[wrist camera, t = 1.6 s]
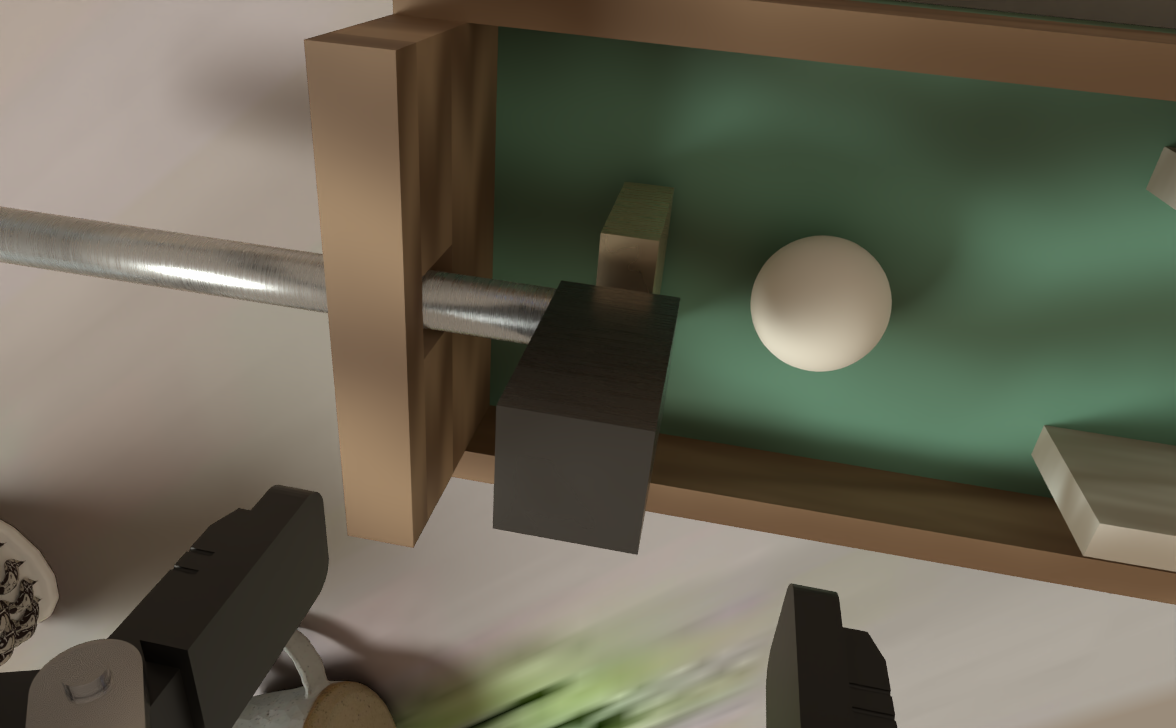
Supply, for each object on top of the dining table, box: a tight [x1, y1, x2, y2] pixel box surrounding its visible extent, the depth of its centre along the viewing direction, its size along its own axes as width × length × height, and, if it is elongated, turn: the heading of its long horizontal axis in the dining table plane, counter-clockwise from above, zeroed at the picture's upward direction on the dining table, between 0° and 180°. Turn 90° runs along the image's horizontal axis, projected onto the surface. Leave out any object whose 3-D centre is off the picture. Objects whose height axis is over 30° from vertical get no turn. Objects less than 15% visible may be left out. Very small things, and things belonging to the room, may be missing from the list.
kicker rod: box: [0, 181, 680, 555], centre depth 22 cm, size 5×22×12 cm, turn 85°
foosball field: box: [304, 0, 1176, 605], centre depth 23 cm, size 16×28×9 cm, turn 85°
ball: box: [750, 235, 892, 372], centre depth 24 cm, size 4×4×4 cm
